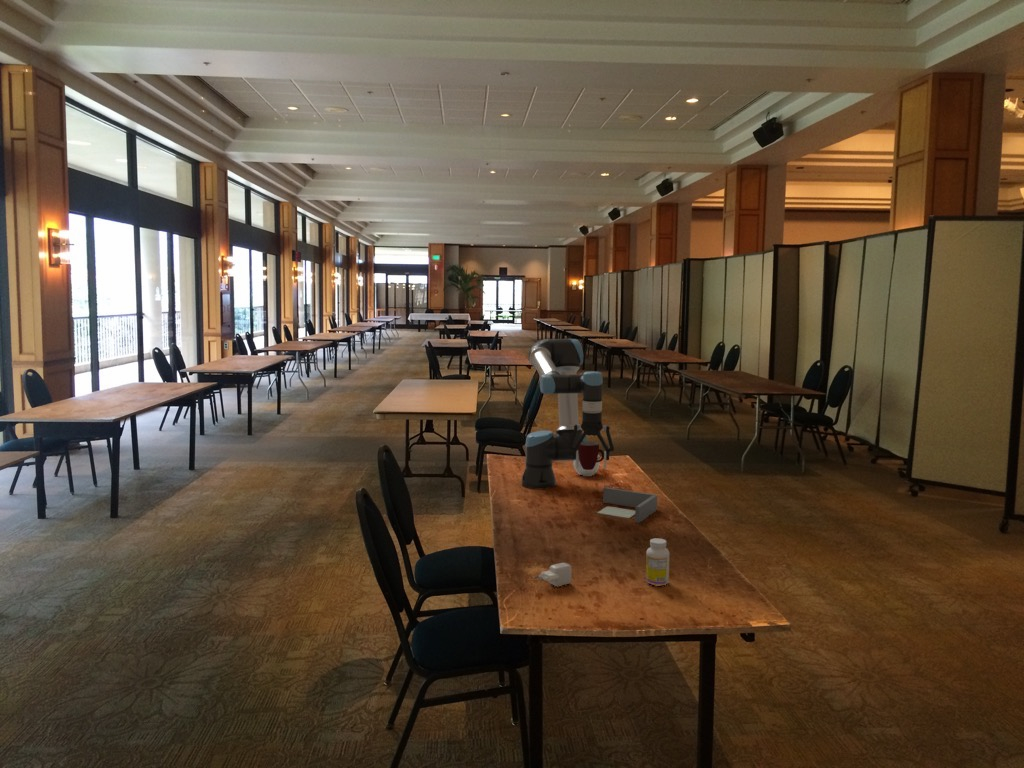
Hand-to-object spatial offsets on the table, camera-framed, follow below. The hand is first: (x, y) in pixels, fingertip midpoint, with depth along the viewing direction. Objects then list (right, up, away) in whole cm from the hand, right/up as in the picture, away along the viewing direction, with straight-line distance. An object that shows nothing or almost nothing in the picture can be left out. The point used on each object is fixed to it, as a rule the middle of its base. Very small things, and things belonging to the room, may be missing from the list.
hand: (591, 467), depth 297 cm
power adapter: (-19, -26, -77) cm, 84 cm away
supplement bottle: (+12, -26, -74) cm, 79 cm away
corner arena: (+11, -17, -3) cm, 20 cm away
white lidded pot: (+4, -9, +56) cm, 57 cm away
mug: (0, 0, 0) cm, 1 cm away
